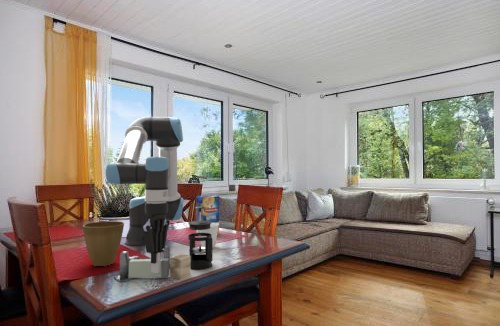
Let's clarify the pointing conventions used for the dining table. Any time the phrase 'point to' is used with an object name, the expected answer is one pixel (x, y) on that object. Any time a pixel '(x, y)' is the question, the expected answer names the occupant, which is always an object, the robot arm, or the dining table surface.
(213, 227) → the cup
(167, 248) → the post
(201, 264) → the french press
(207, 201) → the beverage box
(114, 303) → the dining table surface
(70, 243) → the dining table surface
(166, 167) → the robot arm
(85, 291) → the dining table surface
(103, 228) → the plant pot
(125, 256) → the metal knob post
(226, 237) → the dining table surface
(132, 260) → the gate
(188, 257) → the block
